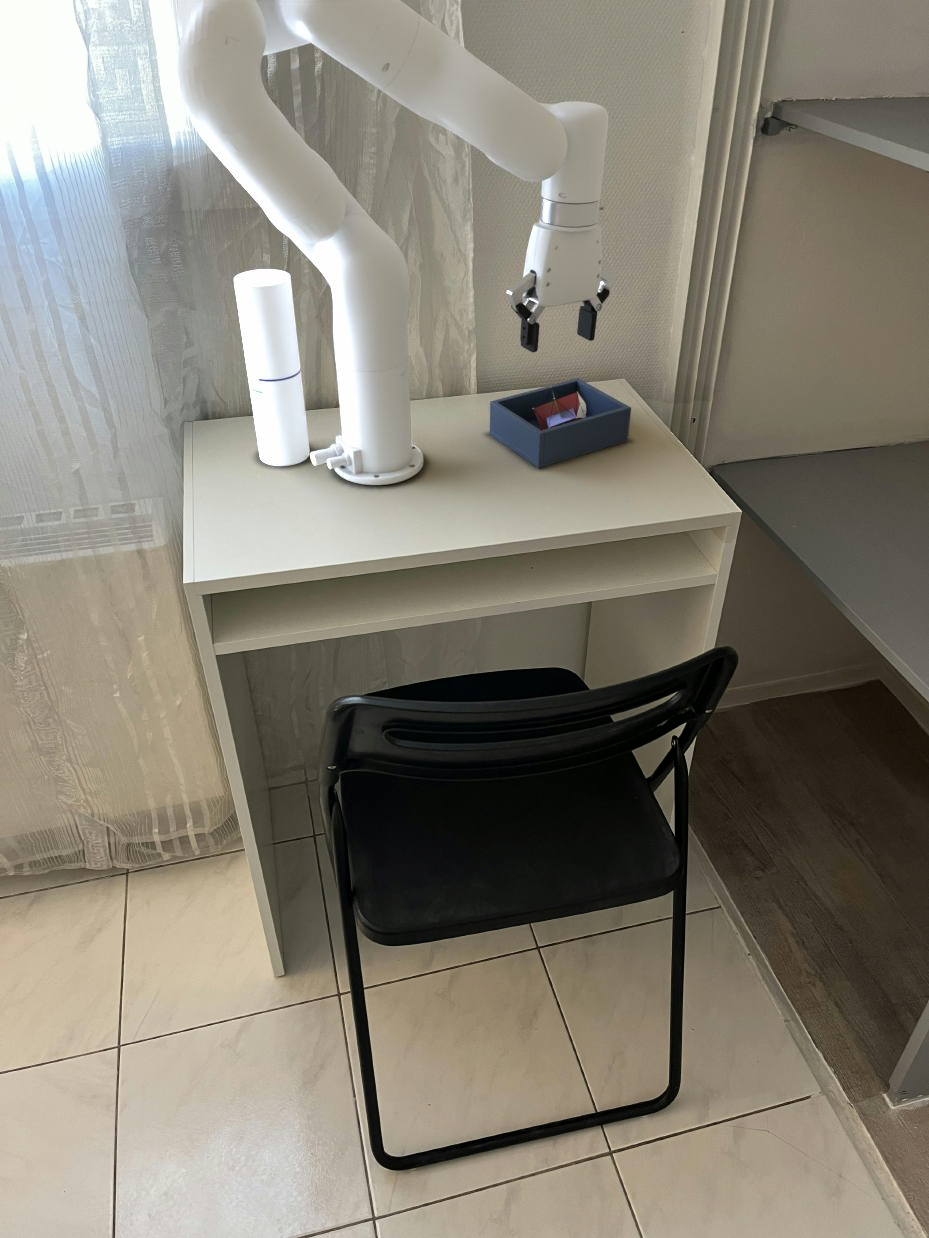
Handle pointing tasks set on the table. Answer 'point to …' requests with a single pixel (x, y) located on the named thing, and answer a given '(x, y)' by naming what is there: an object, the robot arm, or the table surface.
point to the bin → (566, 441)
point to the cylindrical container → (273, 365)
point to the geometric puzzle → (560, 410)
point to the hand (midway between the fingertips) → (557, 343)
